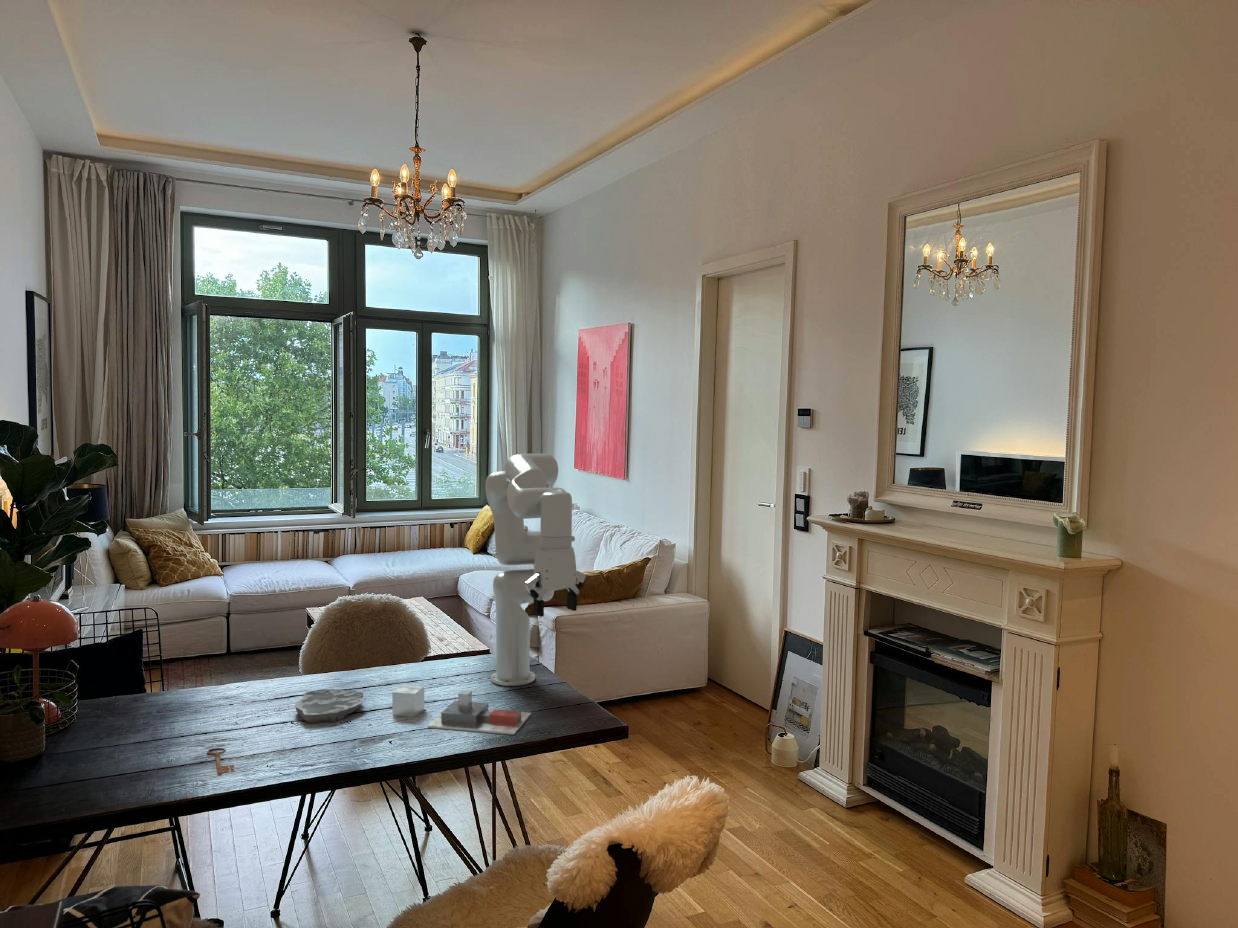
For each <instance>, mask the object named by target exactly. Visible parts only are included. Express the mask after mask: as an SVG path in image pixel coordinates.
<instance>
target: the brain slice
mask: <svg viewBox="0 0 1238 928" xmlns="http://www.w3.org/2000/svg"><path fill="white" fill-rule="evenodd" d="M366 699H367V698H366V697H364V693H363V692H362V691H361V692H360V691H356V690H351V689H350V690H346V689H332V688H328V689H327V688H325V689H324V688H323V689H322V688H321V689H316V690H310V691H306V692H305V693H303V696H302V698H301V699H299V700H298V701H296V702H295V703H294V704H295V710H296V713H297V715H299V716H300V717H301V718H302V719H303V720H304V721H305V722H306V723H312V724H313V723H314V724H315V723H321V722H335V721H337V720H342V719H343V718H344V717H346V716H348V715H349V714H352V713H354V712H355V711H357V709H358V708H359V707H360V706H362V704H363V703H364V702H365V701H366Z"/></svg>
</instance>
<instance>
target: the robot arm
mask: <svg viewBox="0 0 1238 928" xmlns="http://www.w3.org/2000/svg"><path fill="white" fill-rule="evenodd" d="M558 476H559V465H558V462H557V460H556V459H555V457H554V456H553V455H551V454H550V453H518V454H514V455H511V456H510V457H509V458H508V459H507V460H506V462H505V464H504V470H500V471H499V470H498V471H494V472H492V473H490V474H489V475H487V477H486V479H485V485H484V487H485V496H486V501H487V503H488V506H489V509H490V511H491V514H492V518H493V526H494V541H495V544H494V545H495V552H496V553H495V554H496V559H497V561H498V563H499V564H501V565H502V566H526V565H529V566H530V565H532V566H533V568H528V569H513V570H512V569H511V570H504V571H501V572H500V573H497V574H496V575H495V576H494V578H493V581H492V589H493V595H494V596H493V597H494V602H495V603H494V604H495V617H496V618H495V620H496V623H495V625H496V629H495V630H496V631H495V632H496V633H495V635H496V636H495V637H496V640H495V642H496V643H495V647H496V649H495V651H496V652H495V654H496V657H495V660H496V664H495V667H496V668H495V669H496V670H495V672H493V673H492V674H491V675H490V681H491V682H492V683H494V684H495V685H499V686H505V687H514V686H515V687H516V686H524V685H529V684H530V683H532V682H534V681H535V679H536V674H535V673H534V672H532V671H531V670H530V669H531V667H530V666H531V664H530V662H531V661H530V660H531V659H530V658H531V655H530V652H531V651H530V648H531V646H530V643H531V640H530V638H531V637H530V636H531V634H530V633H531V632H530V631H531V628H530V626H531V625H530V624H531V621H530V617H529V615H528V613H527V612H526V611H525V609H524V608H523V607H522V606H521V605H523V604H530V603H531V604H532V603H533V614H534V615H535V616H537V617H540V618H542V617H544V616H545V602H549V601H550V600H551V599H552V598H553V597H554V596H555V595H554V593H555V591H559V590H560V591H561V590H566V589H567V591H568V592H567V593H566V608H567V609H568V610H570V611H573V612H576V611H577V608H578V607H577V606H578V595H579V593H580V590H581V589H582V587H583V586H584V582H585V579H586V578H587V577H586V576H587V575H586V574H584V573H583V572H581V571H578V570H577V563H576V562H577V561H576V555H575V550H574V547H573V546H572V544H573V542H575V541H576V538H575V536H574V535H573V532H572V530H573V529H572V528H573V525H572V524H573V521H572V520H573V498H572V495H571V493H569V492H568V491H566V489H564V488H563V487H554V485H555V484H556V482H557V480H558ZM524 519H526V520H527V519H529V520H530V519H540V530H539V531H538V530H537V531H526V530H525V524H524V523H525V522H524Z"/></svg>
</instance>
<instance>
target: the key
mask: <svg viewBox="0 0 1238 928" xmlns="http://www.w3.org/2000/svg"><path fill="white" fill-rule="evenodd" d="M218 750H219V751H218ZM221 750H222V751H221ZM213 751H215V752H213ZM226 751H227V750H226V749H225V748H221V747H220V748H219V747H216V748H215V747H214V748H211V749H208V750H207V754H208V755H210V756H214V757H215V758H214V760H215V765H216V775H217V776H221V775H223V774H227V773H232V772H235V765H234V764H231V765H221V756H220V755H221V754H224V753H226Z"/></svg>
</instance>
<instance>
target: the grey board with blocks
mask: <svg viewBox="0 0 1238 928" xmlns="http://www.w3.org/2000/svg"><path fill="white" fill-rule="evenodd" d="M457 695H458V696H457V699H458V700H454V701H453V702H452V703H450V704H449V705H448V706H447V707H446V708H444V710H443V711H442V712H441V713H440V714H439V715H438V716H437V717H436V718H435V719H433V720H432V721H431V722H430V723H428V724H427V728H429V729H439V730H449V731H450V730H451V731H462V732H463V731H465V732H475V733H476V732H477V733H489V734H501V735H511V736H513V735H515V734H517V732H518V731H519V730H520V729H521V727H522V726H523V725H524V724H525V722H526V721H527V720H528V719H529V717H530V716H531V715H532V713H531V712H530V711H529V712H528V711H527V712H525V711H517V710H504V709H489V703H488V702H487V703H486V702H474V701H473V691H472V690H460V692H458V693H457Z"/></svg>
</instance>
